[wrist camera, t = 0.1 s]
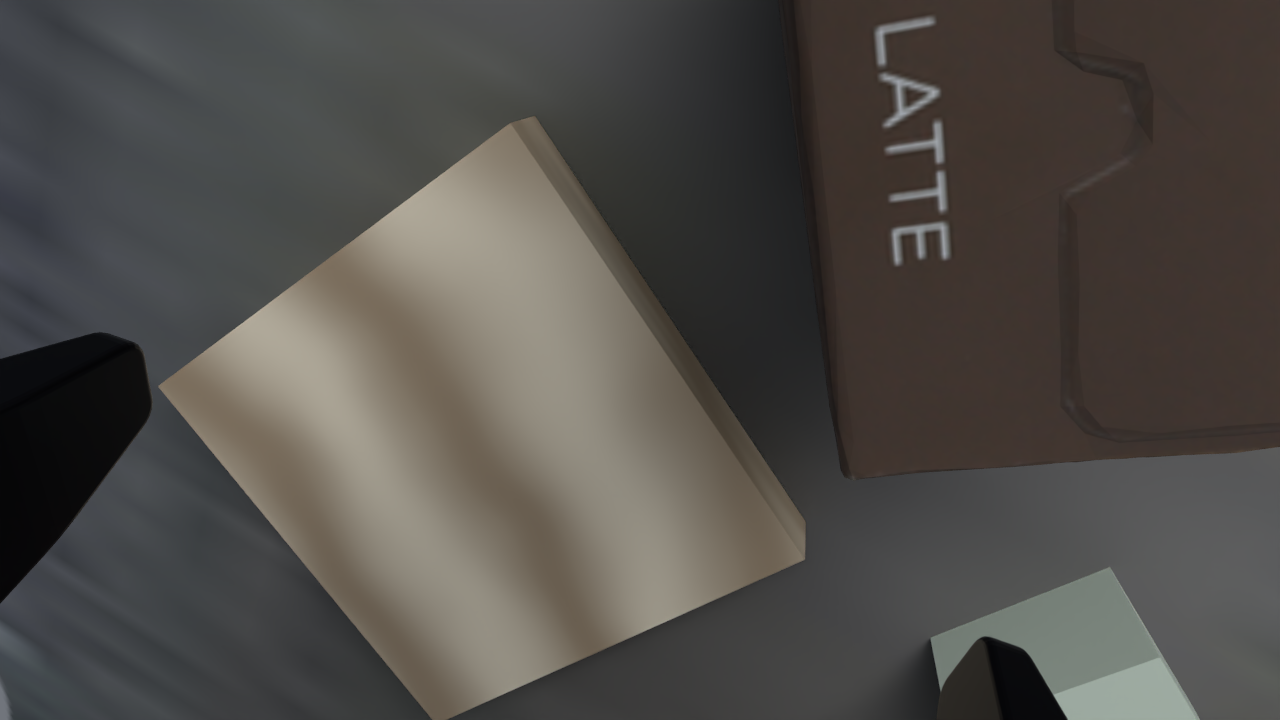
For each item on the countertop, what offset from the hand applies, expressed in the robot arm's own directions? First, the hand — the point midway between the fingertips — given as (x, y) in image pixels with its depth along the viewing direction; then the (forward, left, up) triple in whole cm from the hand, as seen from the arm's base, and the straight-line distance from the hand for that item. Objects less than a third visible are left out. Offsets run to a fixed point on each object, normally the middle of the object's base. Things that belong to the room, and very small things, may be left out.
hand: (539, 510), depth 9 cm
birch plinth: (-9, -2, -15) cm, 18 cm away
